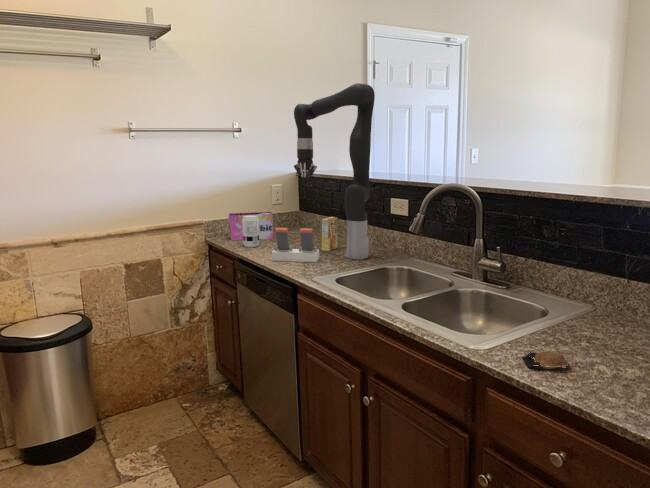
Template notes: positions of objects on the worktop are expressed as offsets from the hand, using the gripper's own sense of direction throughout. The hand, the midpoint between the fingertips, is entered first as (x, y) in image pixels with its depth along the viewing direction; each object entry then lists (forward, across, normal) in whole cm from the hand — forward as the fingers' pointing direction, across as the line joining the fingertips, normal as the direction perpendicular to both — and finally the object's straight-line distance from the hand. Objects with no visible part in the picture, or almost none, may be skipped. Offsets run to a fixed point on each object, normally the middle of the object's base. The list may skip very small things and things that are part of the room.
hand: (305, 185), depth 237 cm
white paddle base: (+31, +11, -20) cm, 38 cm away
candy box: (+31, +10, +6) cm, 33 cm away
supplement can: (+31, -26, -12) cm, 42 cm away
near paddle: (+26, +16, -17) cm, 35 cm away
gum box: (+31, -40, +2) cm, 51 cm away
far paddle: (+26, +6, -23) cm, 35 cm away
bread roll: (+32, +128, -61) cm, 145 cm away
